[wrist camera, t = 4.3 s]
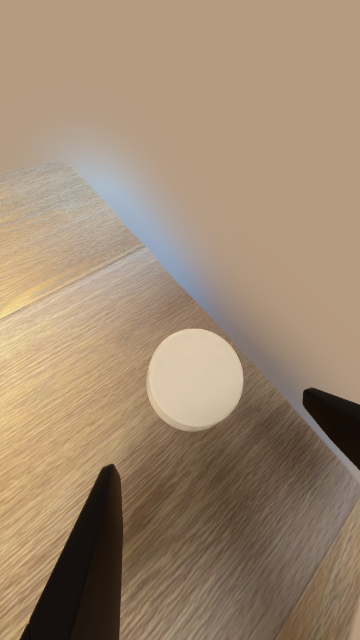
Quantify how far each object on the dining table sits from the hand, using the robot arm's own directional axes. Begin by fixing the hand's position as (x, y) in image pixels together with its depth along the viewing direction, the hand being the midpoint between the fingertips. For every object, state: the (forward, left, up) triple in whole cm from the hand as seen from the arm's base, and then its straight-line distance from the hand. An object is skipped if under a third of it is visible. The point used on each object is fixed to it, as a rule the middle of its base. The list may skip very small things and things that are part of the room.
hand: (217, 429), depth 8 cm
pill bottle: (+2, -1, -10) cm, 10 cm away
